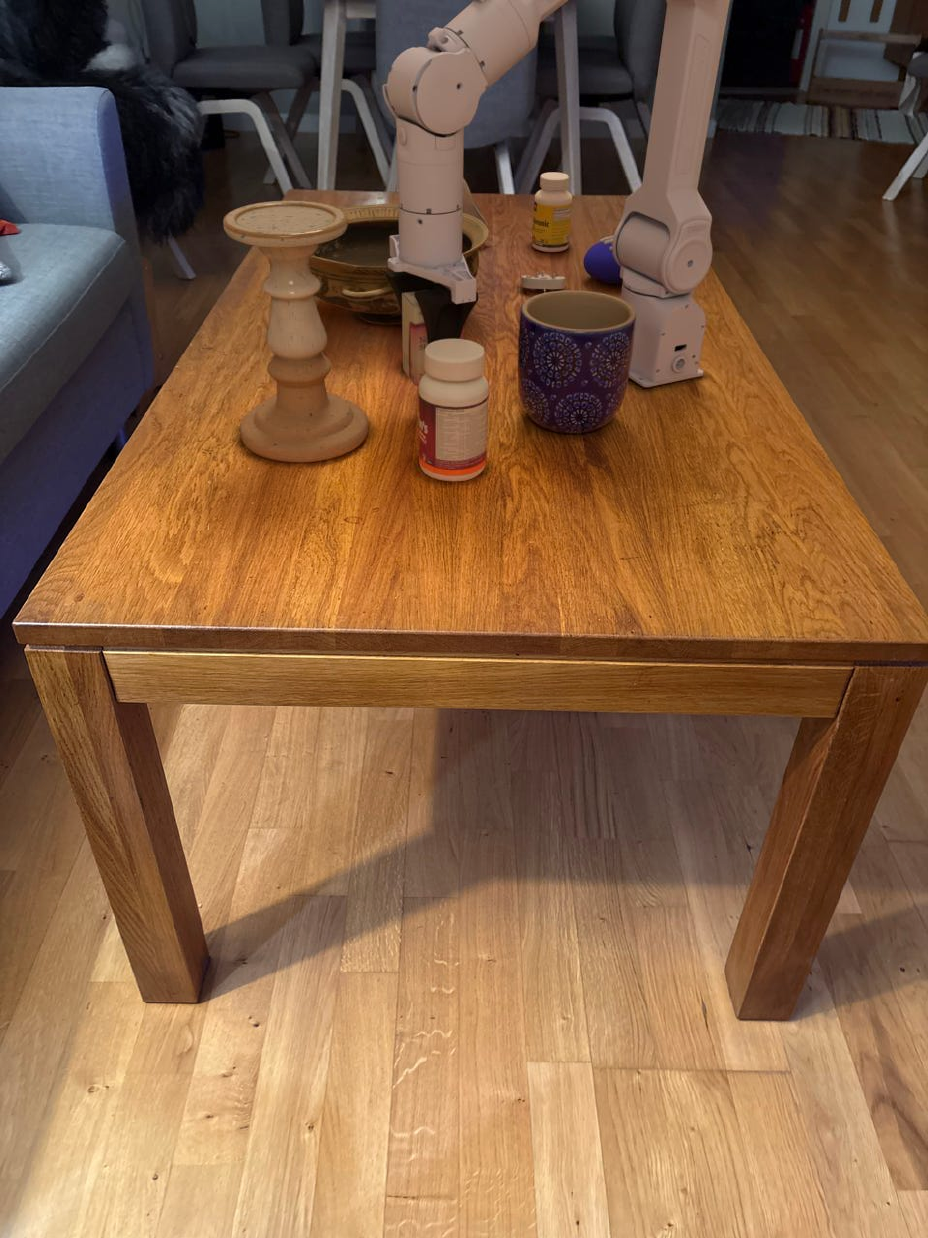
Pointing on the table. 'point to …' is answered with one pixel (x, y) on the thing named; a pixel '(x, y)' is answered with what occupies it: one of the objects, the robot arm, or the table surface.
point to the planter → (574, 358)
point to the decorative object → (602, 262)
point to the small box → (414, 338)
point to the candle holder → (296, 337)
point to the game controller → (542, 281)
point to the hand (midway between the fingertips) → (431, 352)
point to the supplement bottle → (552, 213)
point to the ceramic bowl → (374, 261)
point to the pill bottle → (453, 410)
